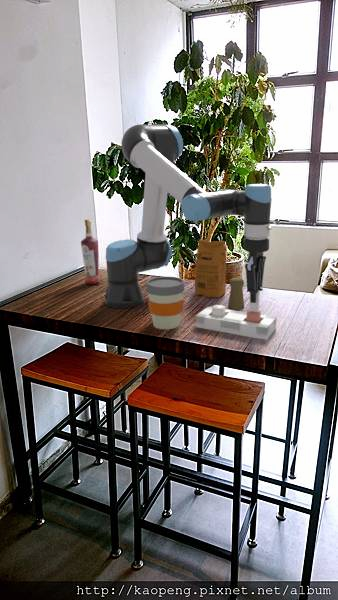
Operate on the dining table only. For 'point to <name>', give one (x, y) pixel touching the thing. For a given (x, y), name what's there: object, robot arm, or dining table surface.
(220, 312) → the white rounded piece
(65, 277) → the dining table surface
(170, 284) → the reusable coffee cup
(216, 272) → the coffee package
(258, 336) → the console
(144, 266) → the robot arm
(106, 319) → the dining table surface
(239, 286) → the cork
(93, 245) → the liquor
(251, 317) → the salmon rounded knob
